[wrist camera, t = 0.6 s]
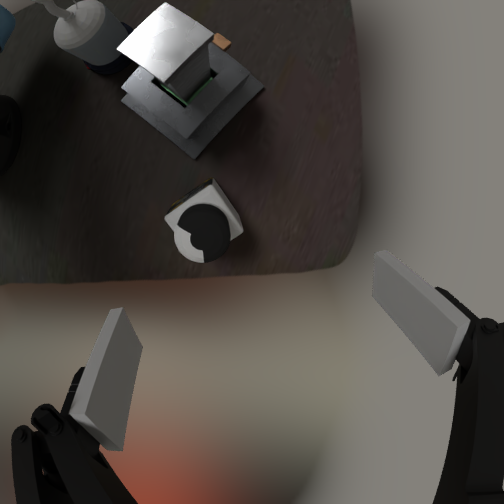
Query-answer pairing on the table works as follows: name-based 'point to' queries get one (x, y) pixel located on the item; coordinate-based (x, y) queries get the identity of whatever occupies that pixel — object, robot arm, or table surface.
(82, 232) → the table surface
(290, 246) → the table surface
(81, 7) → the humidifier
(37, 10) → the table surface
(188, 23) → the column
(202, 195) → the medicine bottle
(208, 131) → the stand housing
